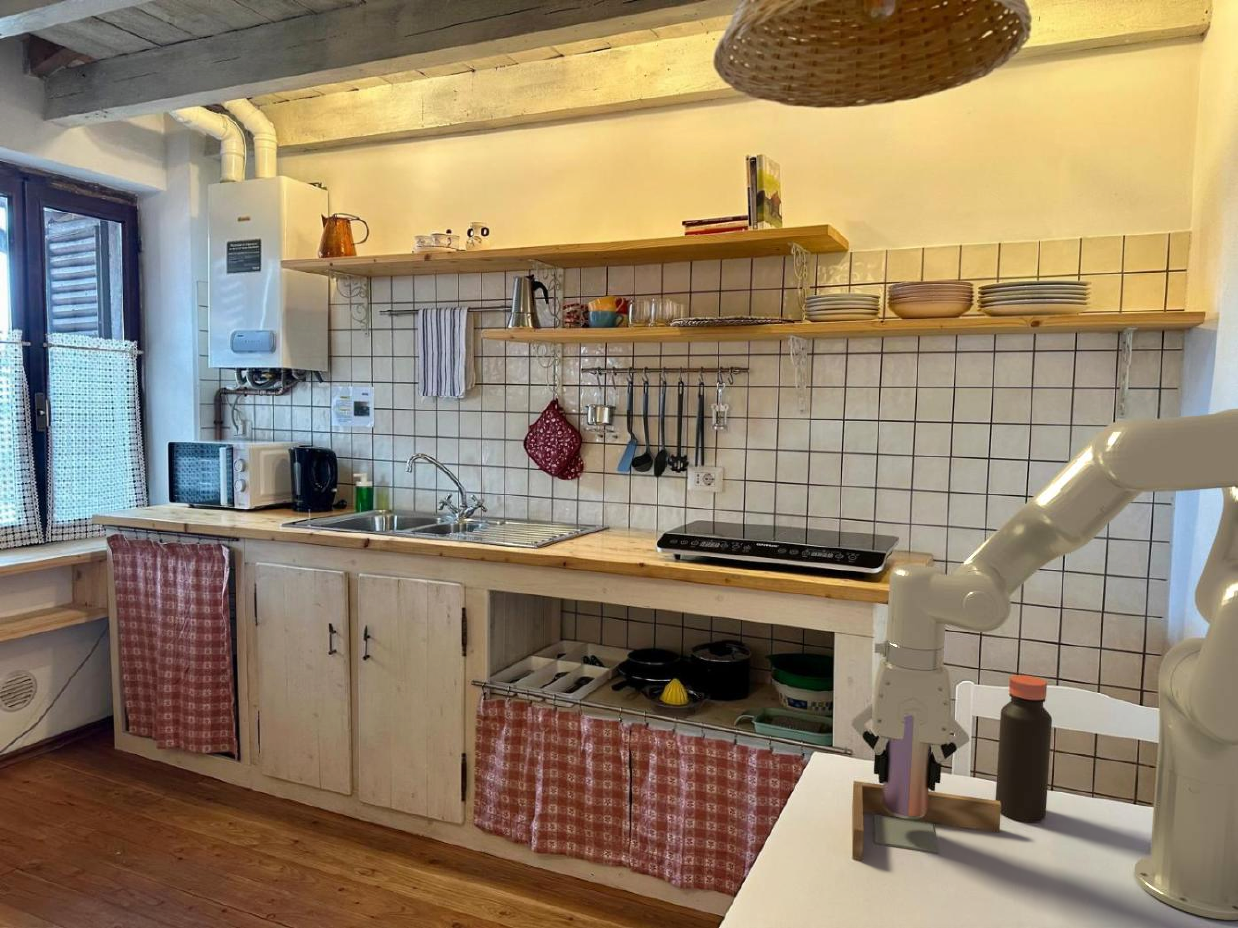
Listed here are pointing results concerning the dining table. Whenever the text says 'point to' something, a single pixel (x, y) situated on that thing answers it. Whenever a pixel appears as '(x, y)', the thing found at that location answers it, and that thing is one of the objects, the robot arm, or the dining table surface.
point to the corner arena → (939, 811)
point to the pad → (905, 833)
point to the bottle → (1024, 751)
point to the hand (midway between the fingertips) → (906, 781)
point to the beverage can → (907, 773)
